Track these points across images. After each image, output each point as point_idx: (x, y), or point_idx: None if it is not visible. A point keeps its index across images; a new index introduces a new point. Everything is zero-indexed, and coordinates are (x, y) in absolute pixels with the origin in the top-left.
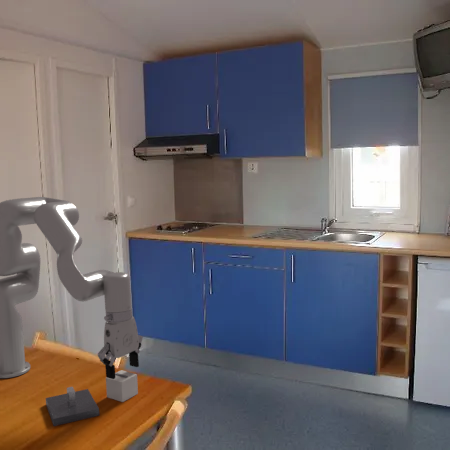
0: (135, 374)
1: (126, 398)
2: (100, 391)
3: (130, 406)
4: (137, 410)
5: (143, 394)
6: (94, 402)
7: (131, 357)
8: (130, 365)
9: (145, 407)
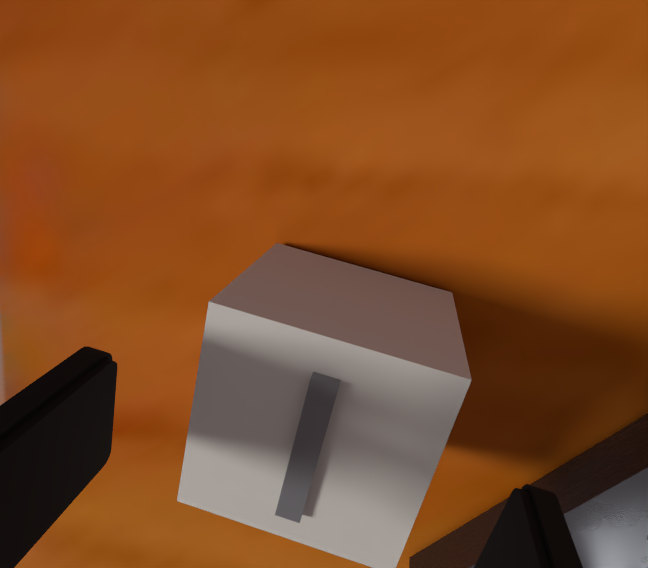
0: (216, 319)
1: (407, 284)
2: None
3: (500, 197)
4: (566, 94)
5: (265, 196)
6: (641, 479)
7: (27, 517)
8: (109, 450)
9: (491, 48)
